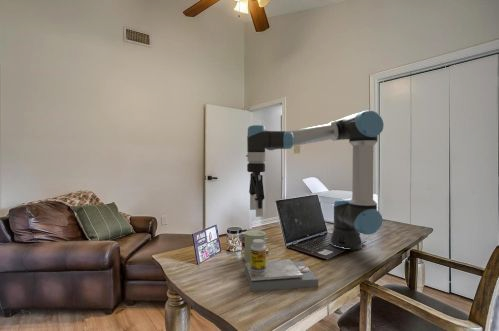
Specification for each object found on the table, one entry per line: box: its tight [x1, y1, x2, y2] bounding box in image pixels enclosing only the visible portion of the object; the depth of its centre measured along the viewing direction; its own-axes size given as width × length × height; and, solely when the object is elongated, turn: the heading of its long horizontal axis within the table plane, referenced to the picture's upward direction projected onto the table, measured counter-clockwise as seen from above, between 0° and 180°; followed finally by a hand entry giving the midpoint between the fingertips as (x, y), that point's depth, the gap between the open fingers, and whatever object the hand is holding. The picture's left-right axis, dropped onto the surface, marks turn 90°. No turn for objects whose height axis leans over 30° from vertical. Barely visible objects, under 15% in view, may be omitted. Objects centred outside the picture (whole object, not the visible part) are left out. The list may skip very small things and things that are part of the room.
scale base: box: [244, 261, 319, 292], centre depth 91 cm, size 23×15×3 cm, turn 100°
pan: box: [244, 259, 303, 281], centre depth 90 cm, size 18×13×1 cm
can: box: [243, 229, 266, 262], centre depth 108 cm, size 9×9×12 cm
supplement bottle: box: [250, 239, 267, 272], centre depth 89 cm, size 6×6×10 cm
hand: (256, 212), depth 106 cm, fingers open, 13 cm apart
